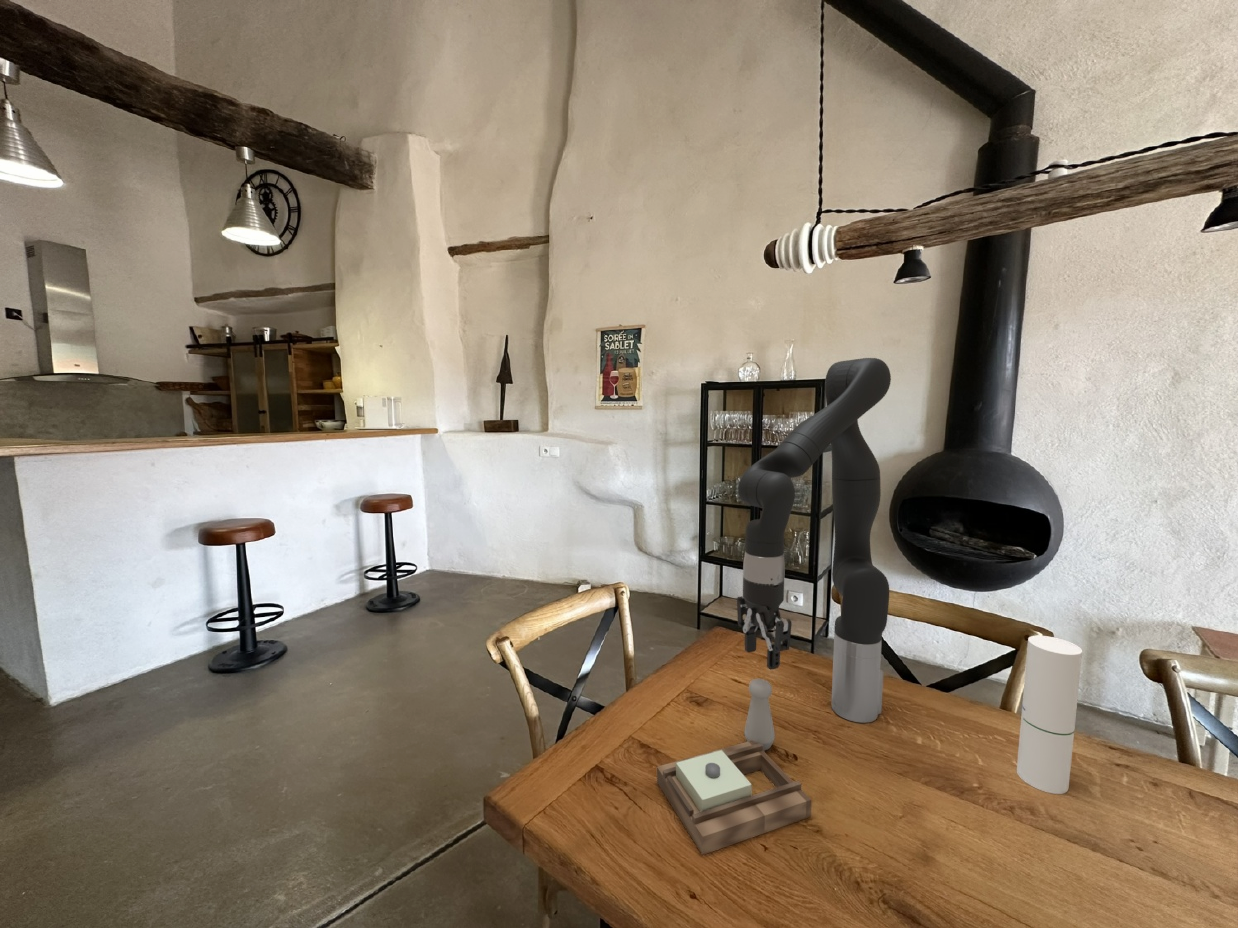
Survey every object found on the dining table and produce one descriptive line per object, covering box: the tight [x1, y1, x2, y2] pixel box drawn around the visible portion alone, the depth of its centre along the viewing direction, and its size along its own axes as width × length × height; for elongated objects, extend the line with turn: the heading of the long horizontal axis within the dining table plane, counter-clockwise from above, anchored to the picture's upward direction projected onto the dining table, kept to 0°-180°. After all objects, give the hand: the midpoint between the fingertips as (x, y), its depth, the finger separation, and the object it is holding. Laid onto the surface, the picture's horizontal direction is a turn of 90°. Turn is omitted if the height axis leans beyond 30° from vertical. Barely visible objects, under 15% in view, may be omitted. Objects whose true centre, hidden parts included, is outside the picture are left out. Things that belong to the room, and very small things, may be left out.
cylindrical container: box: [1016, 635, 1083, 795], centre depth 91 cm, size 7×7×25 cm
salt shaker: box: [743, 678, 776, 752], centre depth 101 cm, size 6×6×13 cm
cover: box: [676, 750, 753, 812], centre depth 86 cm, size 9×9×4 cm
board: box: [656, 740, 812, 856], centre depth 88 cm, size 20×16×4 cm
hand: (761, 659), depth 100 cm, fingers open, 6 cm apart
